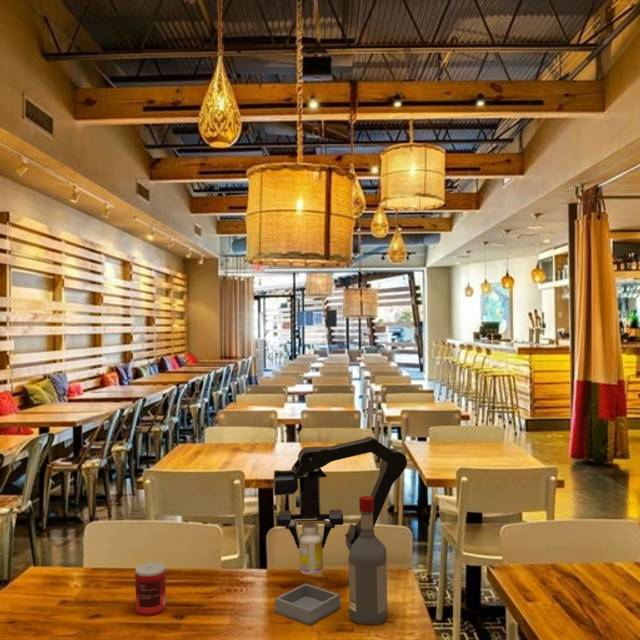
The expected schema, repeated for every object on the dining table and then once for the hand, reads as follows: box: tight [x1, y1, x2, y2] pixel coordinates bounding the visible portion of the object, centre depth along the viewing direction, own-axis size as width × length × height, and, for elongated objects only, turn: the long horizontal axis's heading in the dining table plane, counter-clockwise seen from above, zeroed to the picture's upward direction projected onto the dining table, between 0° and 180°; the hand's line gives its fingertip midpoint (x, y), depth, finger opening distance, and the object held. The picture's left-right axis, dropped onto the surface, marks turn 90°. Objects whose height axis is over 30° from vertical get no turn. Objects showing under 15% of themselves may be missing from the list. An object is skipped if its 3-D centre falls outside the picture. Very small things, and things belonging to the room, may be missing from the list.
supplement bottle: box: [298, 522, 324, 576], centre depth 179 cm, size 7×7×13 cm
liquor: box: [347, 495, 389, 626], centre depth 160 cm, size 9×9×30 cm
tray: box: [274, 582, 341, 626], centre depth 164 cm, size 12×12×4 cm
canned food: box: [134, 562, 167, 617], centre depth 166 cm, size 8×8×11 cm
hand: (310, 547), depth 179 cm, fingers closed on supplement bottle, 7 cm apart
